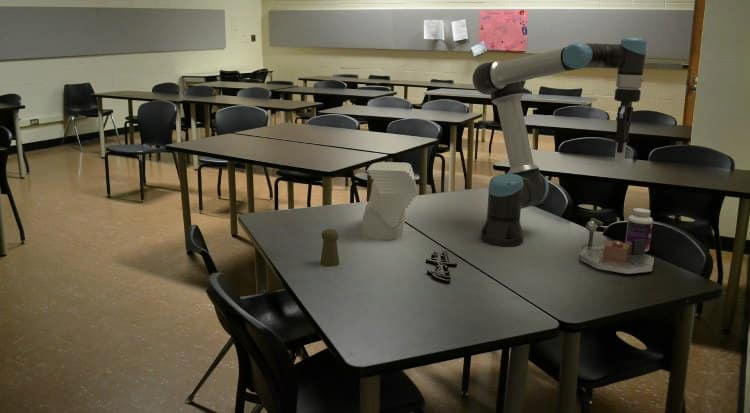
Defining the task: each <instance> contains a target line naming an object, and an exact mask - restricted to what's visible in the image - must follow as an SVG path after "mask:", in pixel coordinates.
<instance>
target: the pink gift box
mask: <svg viewBox="0 0 750 413" xmlns="http://www.w3.org/2000/svg"><path fill="white" fill-rule="evenodd" d="M630 249H631V244H627V243H625V242H623V241H621V240H608V241H607V242H606V243H605V244H604V251H603V258H608V259H613V260H618V261H624V262H626V260H627V259H628V258H629V256H630Z"/></svg>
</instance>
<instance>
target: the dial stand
mask: <svg viewBox="0 0 750 413" xmlns="http://www.w3.org/2000/svg"><path fill="white" fill-rule="evenodd" d="M598 226H600V227H601V226H604V222H603V221H601V220H598V219H596V218H595V217H591V218H590V221H588V222H586V224H585V229H586V230H587V231H588V240H587V241H588V242H587V243H585V244H584V245H583V246H582V249H581V250H583V248H584V247H590V246H597V245H595V244H593V241H594V234H595V233H594V232H595V231H596V230H597V229H598Z"/></svg>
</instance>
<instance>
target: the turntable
mask: <svg viewBox="0 0 750 413" xmlns="http://www.w3.org/2000/svg"><path fill="white" fill-rule="evenodd" d="M604 245H605V244H604ZM604 245H603V244H602V245H596V246H590V247H584V248H583V247H582V248H583V249H581V251H580V253H579V257H578V258H579V259H578V260H580V261H582V262H583V263H585V264H587V265H590V266H591V267H593V268H595V269H598V270H603V271H608V272H609V271H610V272H615V273H621V274H626V275H627V274H629V275H630V274H638V273H640V274H641V273H648V272H652V271H653V267H654V261H655V257H653V256H651V255H648V254H647V253H646V252H645V245H646V239H635V240H632V248H631V249H630V256H629V258H628V259H627V260H626V262H624V261H618V260H613V259H608V258H603V251H604Z"/></svg>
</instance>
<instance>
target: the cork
mask: <svg viewBox="0 0 750 413" xmlns="http://www.w3.org/2000/svg"><path fill="white" fill-rule="evenodd" d="M321 238H322V240H323V242H322V248H321V255H320V261H319V262H320V263H319V264H320V265H321V266H322V267H331V268H332V267H337V266H339V265H340V259H339V251H338V243H337V242H338V239H339V232H338V231H337V230H336V229H332V228H327V229H324V230H322V232H321Z"/></svg>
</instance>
